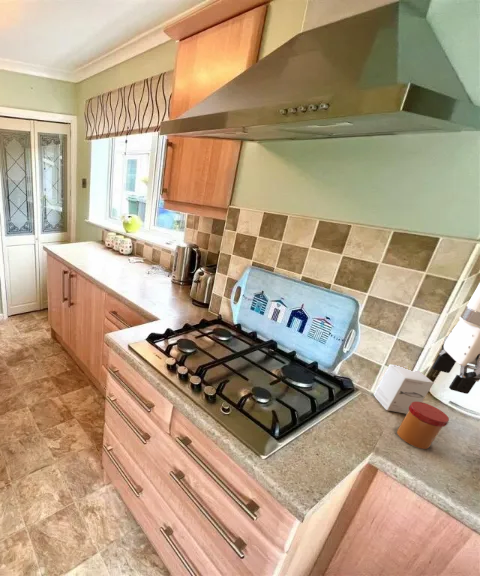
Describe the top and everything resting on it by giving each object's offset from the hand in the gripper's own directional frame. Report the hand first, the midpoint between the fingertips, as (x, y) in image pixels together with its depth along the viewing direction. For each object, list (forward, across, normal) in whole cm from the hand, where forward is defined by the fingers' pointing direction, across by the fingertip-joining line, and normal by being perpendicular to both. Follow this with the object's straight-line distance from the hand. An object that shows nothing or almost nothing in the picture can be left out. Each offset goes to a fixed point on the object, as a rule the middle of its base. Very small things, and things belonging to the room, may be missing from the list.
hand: (448, 380), depth 76 cm
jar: (+20, 0, 0) cm, 20 cm away
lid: (+10, 0, 0) cm, 10 cm away
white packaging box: (+20, +14, 0) cm, 25 cm away
